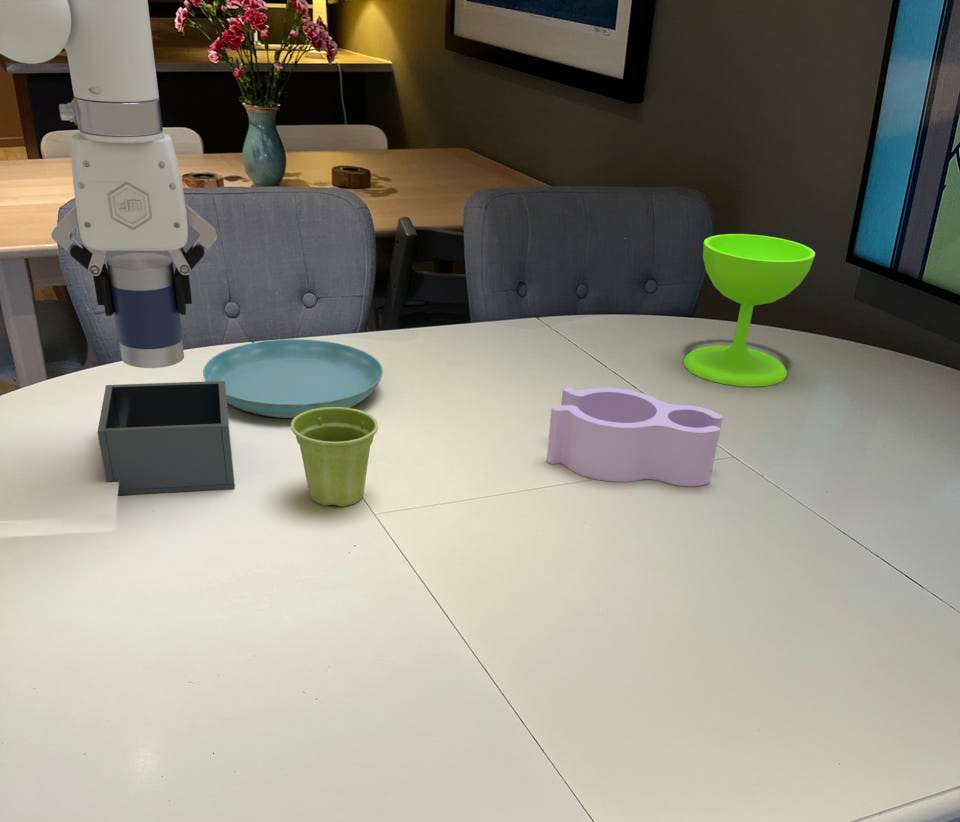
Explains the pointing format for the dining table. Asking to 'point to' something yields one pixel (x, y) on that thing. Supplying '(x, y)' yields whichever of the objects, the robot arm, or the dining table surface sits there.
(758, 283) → the wineglass
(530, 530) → the dining table surface
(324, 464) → the plant pot
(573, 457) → the clip
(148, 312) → the tin can
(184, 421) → the open box
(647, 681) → the dining table surface
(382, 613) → the dining table surface
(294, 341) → the teal plate
